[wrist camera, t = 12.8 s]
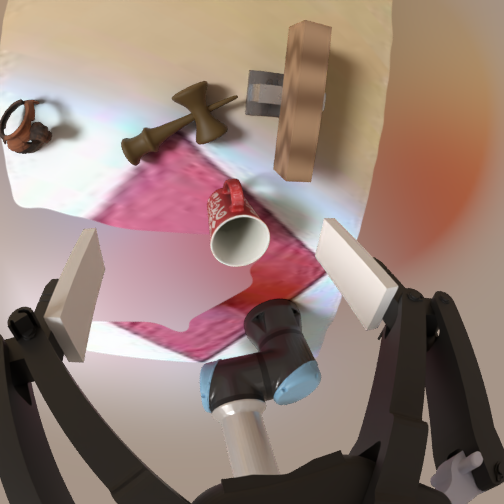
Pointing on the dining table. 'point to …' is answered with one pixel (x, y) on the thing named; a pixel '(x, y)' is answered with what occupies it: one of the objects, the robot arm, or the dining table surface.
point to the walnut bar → (302, 100)
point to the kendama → (180, 124)
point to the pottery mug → (25, 130)
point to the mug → (235, 227)
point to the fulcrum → (265, 93)
